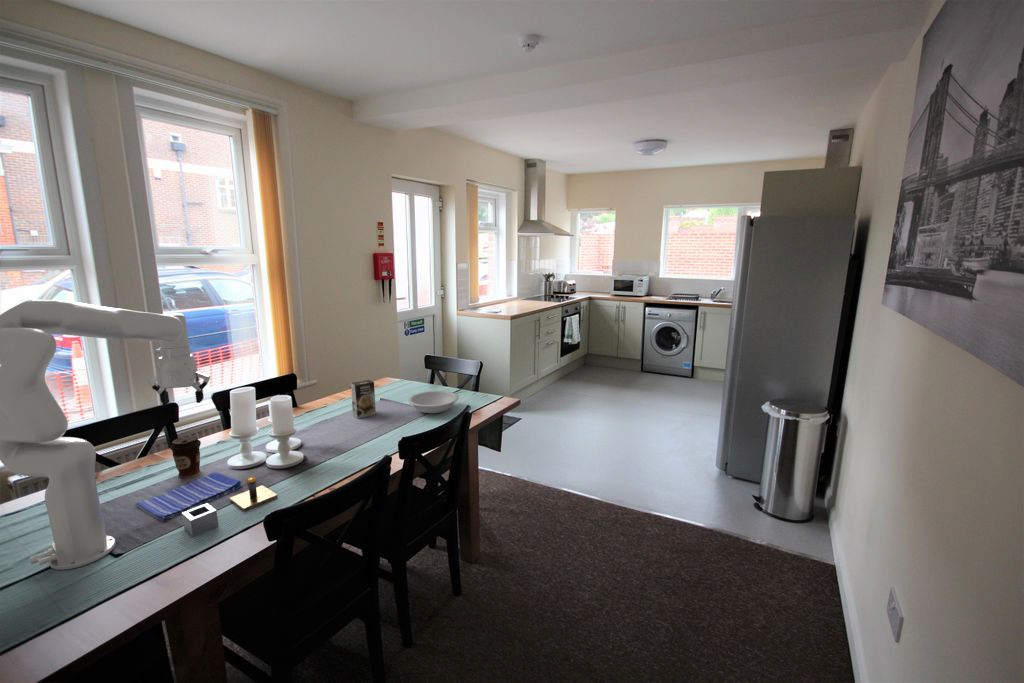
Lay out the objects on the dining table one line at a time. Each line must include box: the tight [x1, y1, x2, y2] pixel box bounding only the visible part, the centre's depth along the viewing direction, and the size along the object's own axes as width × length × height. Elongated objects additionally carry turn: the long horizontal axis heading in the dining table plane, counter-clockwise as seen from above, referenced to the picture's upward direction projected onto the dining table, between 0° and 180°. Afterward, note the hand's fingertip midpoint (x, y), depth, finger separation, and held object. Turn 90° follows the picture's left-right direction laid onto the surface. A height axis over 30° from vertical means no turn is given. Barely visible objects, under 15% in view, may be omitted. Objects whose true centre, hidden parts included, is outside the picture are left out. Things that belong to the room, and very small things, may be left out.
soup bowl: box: [407, 390, 460, 414], centre depth 225 cm, size 24×24×7 cm
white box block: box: [181, 502, 219, 538], centre depth 131 cm, size 6×6×5 cm
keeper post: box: [229, 476, 278, 512], centre depth 145 cm, size 10×10×7 cm
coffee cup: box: [169, 436, 202, 479], centre depth 161 cm, size 9×8×13 cm
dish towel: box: [135, 471, 242, 522], centre depth 148 cm, size 17×24×3 cm
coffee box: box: [350, 379, 377, 419], centre depth 219 cm, size 9×6×16 cm
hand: (183, 403), depth 152 cm, fingers open, 9 cm apart
